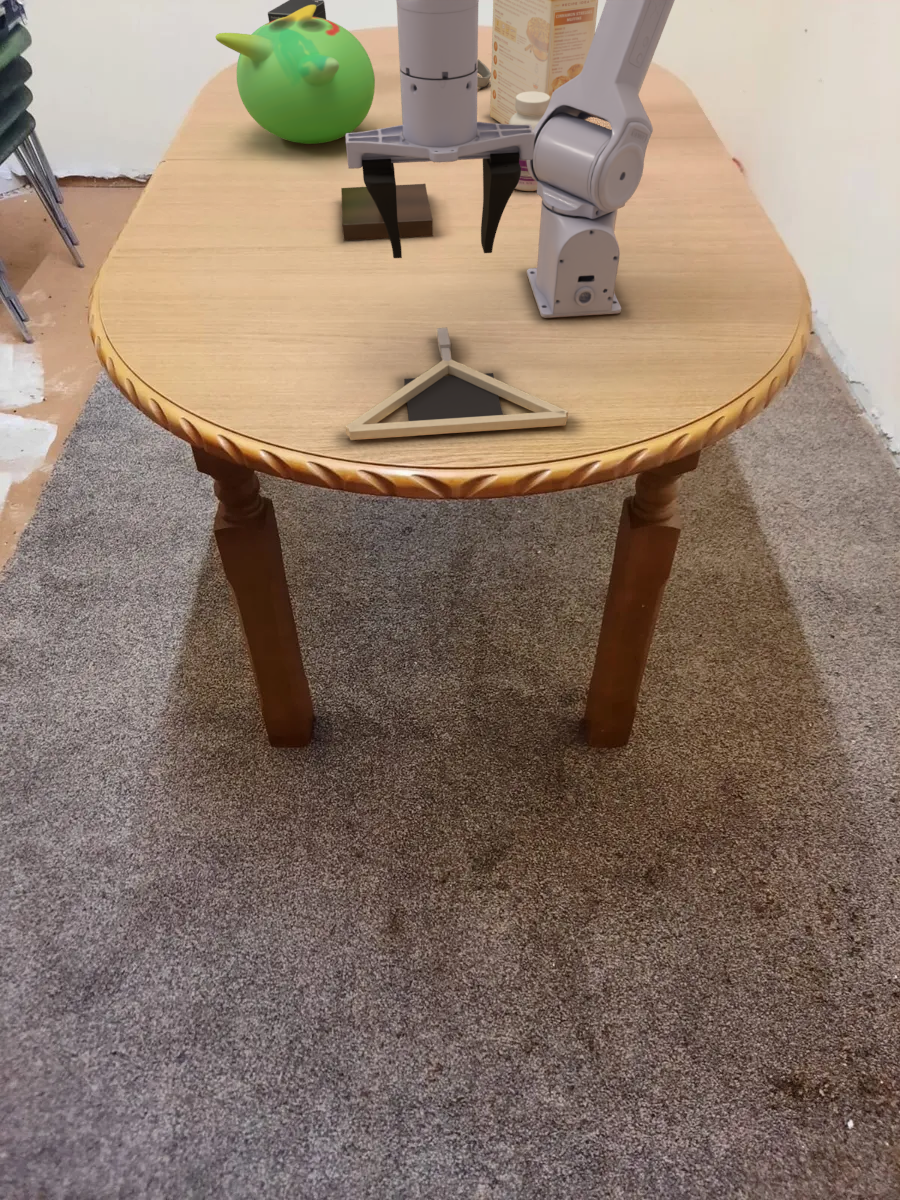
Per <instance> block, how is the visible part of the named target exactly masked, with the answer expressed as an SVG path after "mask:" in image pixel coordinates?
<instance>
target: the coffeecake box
mask: <svg viewBox="0 0 900 1200" xmlns="http://www.w3.org/2000/svg"><path fill="white" fill-rule="evenodd" d="M598 6H599V0H492V31H491V37H492V38H491V63H490V64H491V68H490V69H491V71H490V72H491V77H490V101H489V103H490V104H489V117H491V118H492V119H494V120H495V121H497V122H498V123H499V124H509V121H510V119H511V117H512V116H513V115H514V114H515V113H517V111H516V108H515V102H516V96H517V95H518V94H520V93H523V92H542V93H545V94H547V95H549V96H550V99H551V96H552V93H553V92H554V91H555V90H556V89H558V88H559V87H560V86H562V85H563V84H565V83H567V82H568V81H570V80H571V79H573V78H575V77H576V76H577V75H579V74H580V73H581V72H582V69H583V66H584V63H585V61H586V58H587V55H588V52H589V49H590V46H591V43H592V40H593V38H594V35H595V32H596V28H597V16H598V8H599V7H598Z"/></svg>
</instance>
